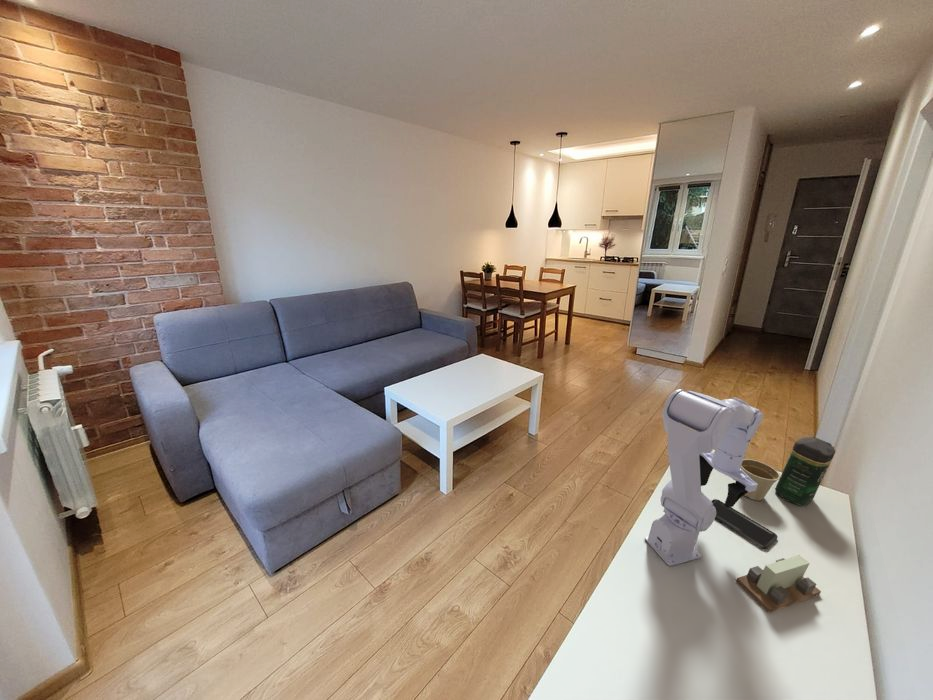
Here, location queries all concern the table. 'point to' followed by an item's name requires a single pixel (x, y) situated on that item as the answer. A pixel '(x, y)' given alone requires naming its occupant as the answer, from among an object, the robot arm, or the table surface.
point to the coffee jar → (805, 470)
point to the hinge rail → (765, 598)
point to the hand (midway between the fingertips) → (714, 495)
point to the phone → (744, 525)
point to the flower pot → (759, 477)
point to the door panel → (782, 574)
